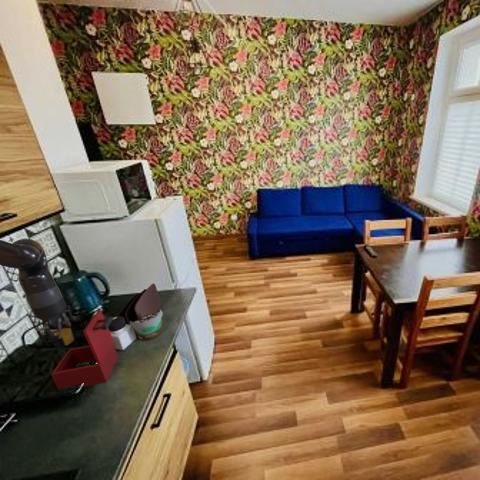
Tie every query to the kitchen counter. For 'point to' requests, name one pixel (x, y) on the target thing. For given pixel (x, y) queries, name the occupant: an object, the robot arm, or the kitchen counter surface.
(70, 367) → the maroon rectangular box
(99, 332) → the box lid
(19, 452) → the kitchen counter surface
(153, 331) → the food container
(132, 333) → the medicine bottle
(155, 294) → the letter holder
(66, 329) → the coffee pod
